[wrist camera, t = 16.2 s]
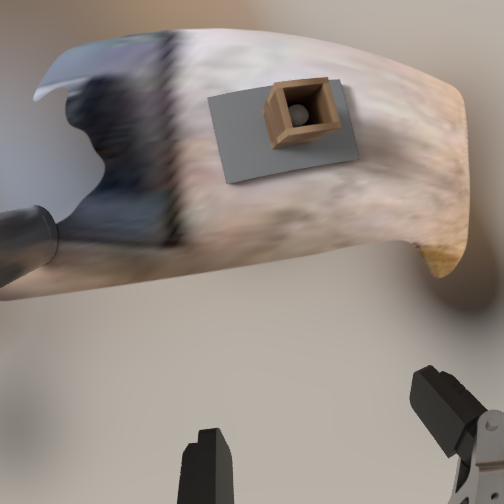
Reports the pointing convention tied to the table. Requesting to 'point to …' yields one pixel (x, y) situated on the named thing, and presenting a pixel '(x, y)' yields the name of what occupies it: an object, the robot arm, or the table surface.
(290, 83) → the sleeve
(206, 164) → the table surface
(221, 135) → the plate
